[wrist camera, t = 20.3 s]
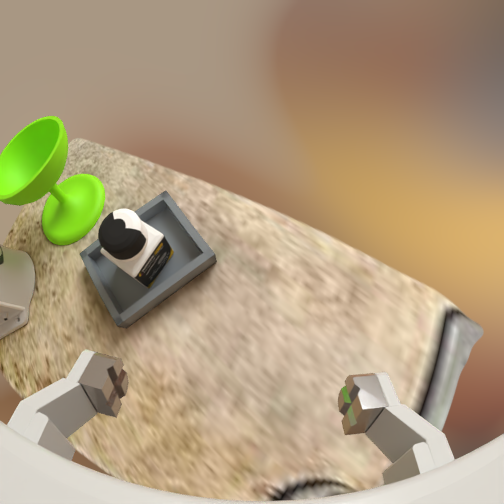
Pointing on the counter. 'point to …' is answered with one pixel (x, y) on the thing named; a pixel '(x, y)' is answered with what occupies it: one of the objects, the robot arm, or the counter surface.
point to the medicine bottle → (134, 246)
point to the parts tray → (170, 278)
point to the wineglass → (50, 181)
